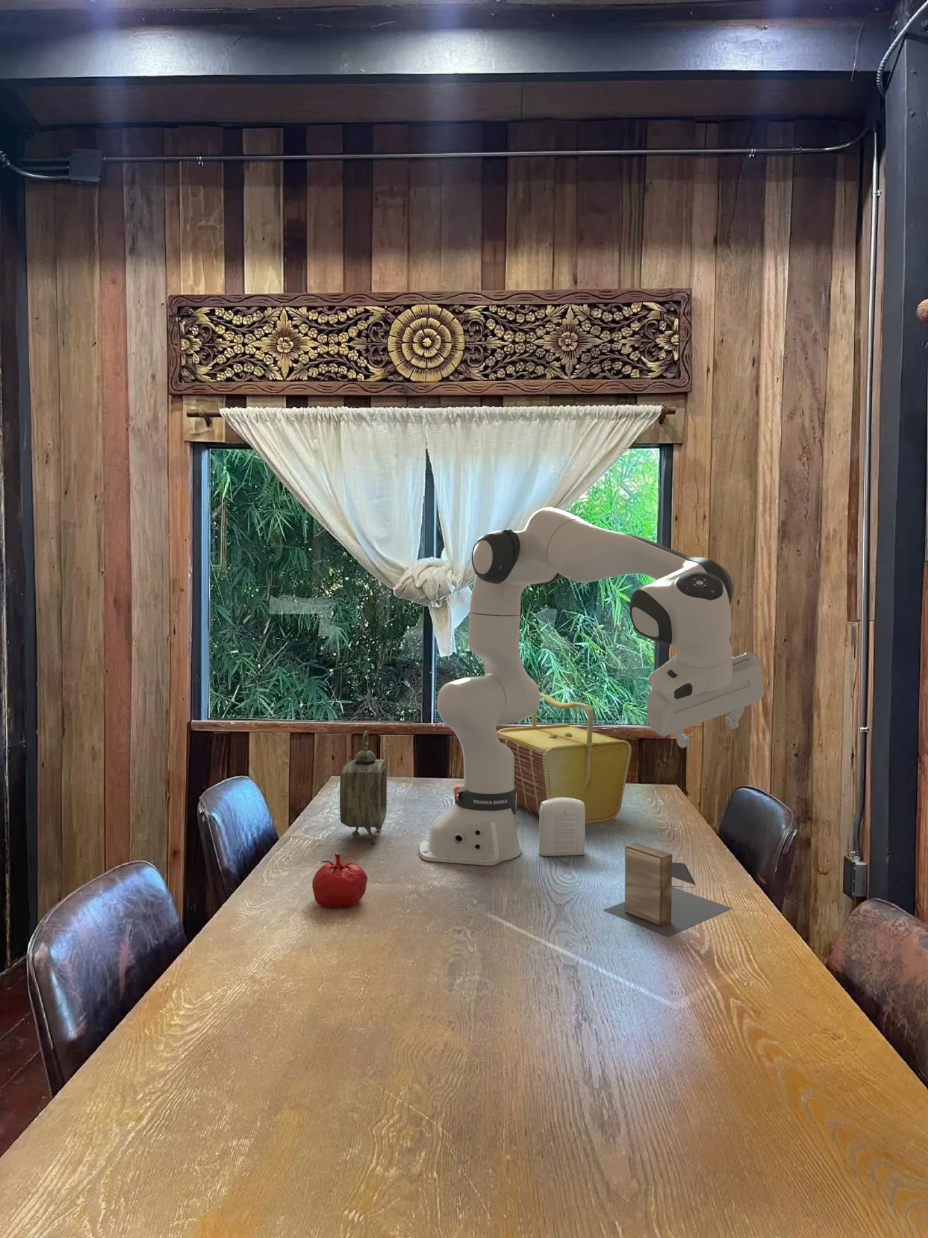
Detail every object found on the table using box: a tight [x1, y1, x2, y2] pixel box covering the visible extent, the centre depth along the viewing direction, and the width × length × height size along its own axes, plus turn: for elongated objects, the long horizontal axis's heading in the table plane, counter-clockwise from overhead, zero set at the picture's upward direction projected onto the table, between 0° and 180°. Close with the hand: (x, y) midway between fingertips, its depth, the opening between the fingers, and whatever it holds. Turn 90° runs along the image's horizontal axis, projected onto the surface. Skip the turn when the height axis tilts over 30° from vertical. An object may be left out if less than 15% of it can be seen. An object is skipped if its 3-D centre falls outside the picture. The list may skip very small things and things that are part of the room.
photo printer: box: [538, 798, 586, 857], centre depth 172 cm, size 10×4×12 cm, turn 98°
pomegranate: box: [311, 852, 368, 909], centre depth 144 cm, size 10×10×9 cm
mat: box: [602, 887, 733, 938], centre depth 140 cm, size 19×14×1 cm
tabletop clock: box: [339, 730, 388, 846], centre depth 182 cm, size 14×9×25 cm, turn 179°
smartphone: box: [672, 861, 696, 889], centre depth 158 cm, size 7×1×15 cm
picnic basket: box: [496, 692, 632, 825], centre depth 204 cm, size 29×26×30 cm
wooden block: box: [624, 842, 673, 927], centre depth 136 cm, size 3×8×12 cm, turn 39°
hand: (707, 736), depth 134 cm, fingers open, 8 cm apart
